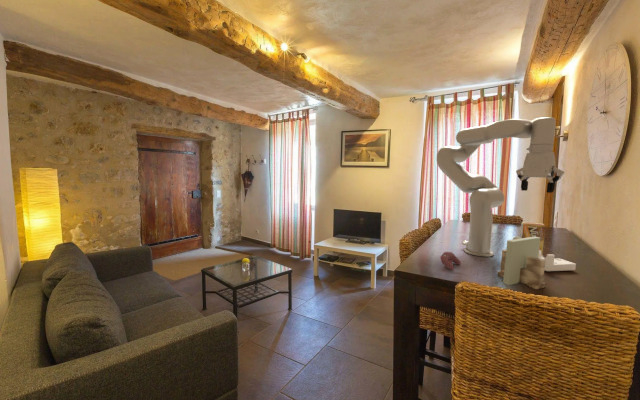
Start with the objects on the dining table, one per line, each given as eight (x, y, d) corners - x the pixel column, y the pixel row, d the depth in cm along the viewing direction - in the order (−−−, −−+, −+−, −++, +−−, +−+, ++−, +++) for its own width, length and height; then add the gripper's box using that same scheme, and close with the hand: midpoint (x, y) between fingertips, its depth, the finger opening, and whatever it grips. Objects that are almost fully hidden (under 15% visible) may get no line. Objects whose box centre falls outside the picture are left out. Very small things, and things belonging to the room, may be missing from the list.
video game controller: (451, 266, 127) (445, 250, 128) (462, 263, 124) (455, 248, 125) (443, 272, 120) (436, 255, 121) (453, 269, 117) (447, 253, 118)
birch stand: (497, 275, 112) (499, 250, 111) (505, 273, 114) (508, 248, 113) (536, 289, 100) (539, 261, 99) (544, 287, 102) (547, 259, 101)
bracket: (546, 273, 116) (549, 255, 115) (531, 267, 123) (533, 250, 122) (575, 272, 118) (577, 254, 117) (558, 266, 125) (560, 249, 124)
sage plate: (503, 283, 105) (507, 240, 103) (530, 276, 111) (534, 236, 109) (508, 285, 103) (512, 241, 101) (536, 278, 109) (540, 237, 108)
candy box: (539, 254, 140) (542, 223, 139) (542, 256, 137) (545, 225, 135) (518, 252, 144) (521, 221, 142) (520, 254, 140) (523, 223, 138)
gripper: (513, 149, 122) (509, 189, 124) (560, 148, 107) (555, 193, 109) (524, 150, 125) (520, 189, 128) (571, 148, 110) (566, 193, 112)
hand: (536, 191), depth 118 cm, fingers open, 9 cm apart
